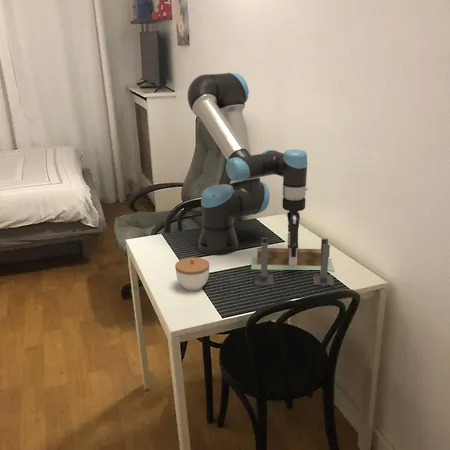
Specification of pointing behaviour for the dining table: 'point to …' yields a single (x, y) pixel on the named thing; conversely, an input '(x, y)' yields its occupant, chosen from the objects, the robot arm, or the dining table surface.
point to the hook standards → (318, 279)
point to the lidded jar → (192, 273)
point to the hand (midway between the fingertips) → (292, 257)
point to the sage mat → (289, 266)
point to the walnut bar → (282, 256)
